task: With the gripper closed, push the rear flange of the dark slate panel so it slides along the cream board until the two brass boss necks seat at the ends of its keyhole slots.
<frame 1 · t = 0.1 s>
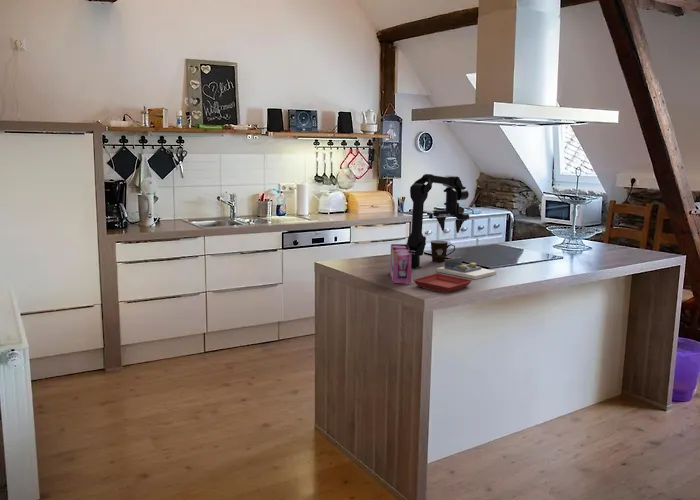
hand: (450, 231, 317), 15 cm above the counter, tool pointing down, fingers open, 9 cm apart
gum box: (400, 278, 277), on the counter
plant saucer: (442, 287, 262), on the counter
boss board: (466, 272, 290), on the counter
keyhole panel: (462, 264, 291), point 4 cm above the counter, slide at 0.0 cm
coffee mug: (441, 262, 315), on the counter
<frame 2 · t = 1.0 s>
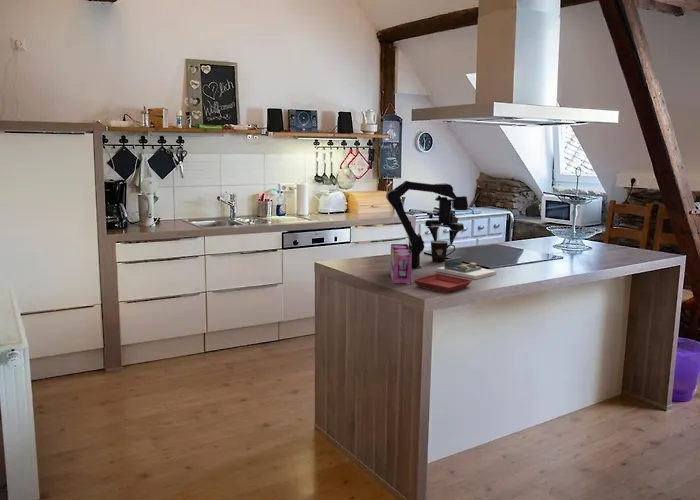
hand: (443, 242, 299), 12 cm above the counter, tool pointing down, fingers open, 9 cm apart
nothing on the counter moved.
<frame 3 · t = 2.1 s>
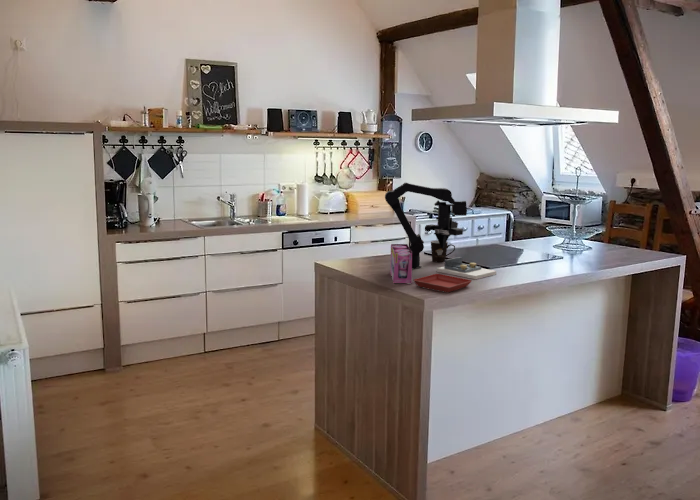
hand: (442, 247, 298), 10 cm above the counter, tool pointing down, fingers closed
nothing on the counter moved.
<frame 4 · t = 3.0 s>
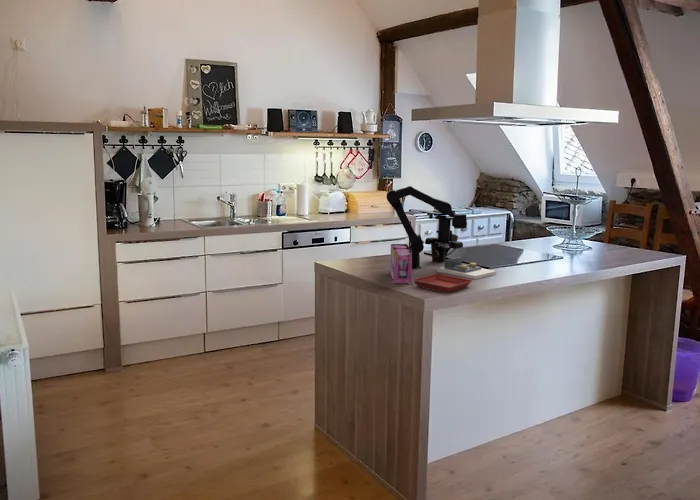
hand: (443, 260, 299), 4 cm above the counter, tool pointing down, fingers closed
nothing on the counter moved.
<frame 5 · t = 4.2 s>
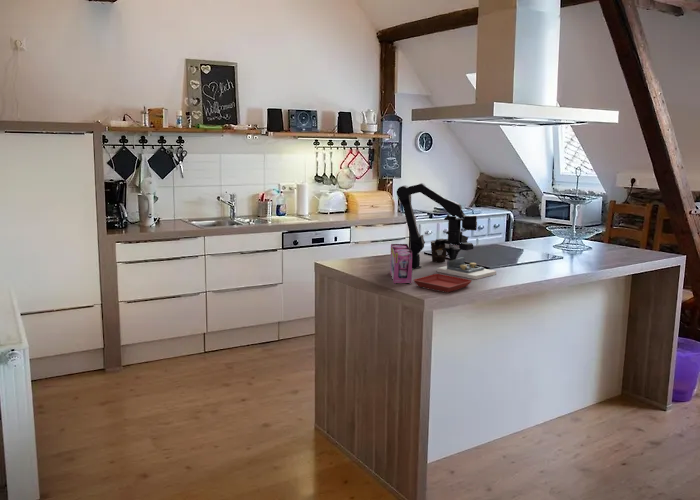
hand: (453, 262, 295), 4 cm above the counter, tool pointing down, fingers closed
keyhole panel: (465, 264, 289), point 4 cm above the counter, slide at 1.6 cm, touching gripper
everything else where it was.
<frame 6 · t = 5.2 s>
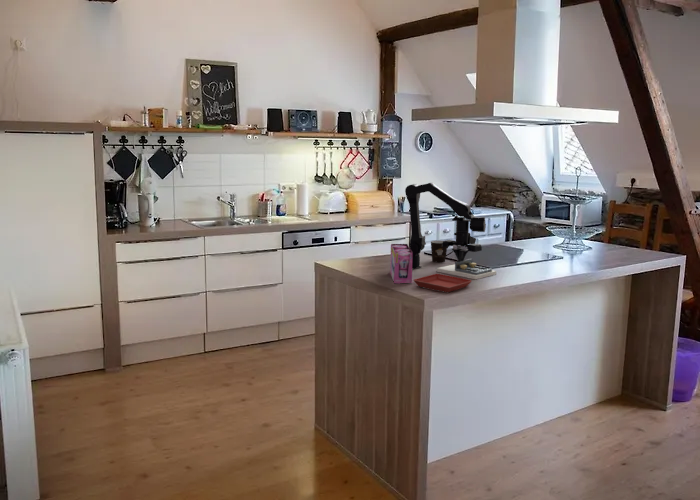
hand: (460, 263, 292), 4 cm above the counter, tool pointing down, fingers closed
keyhole panel: (473, 266, 286), point 4 cm above the counter, slide at 6.0 cm, touching gripper
everything else where it was.
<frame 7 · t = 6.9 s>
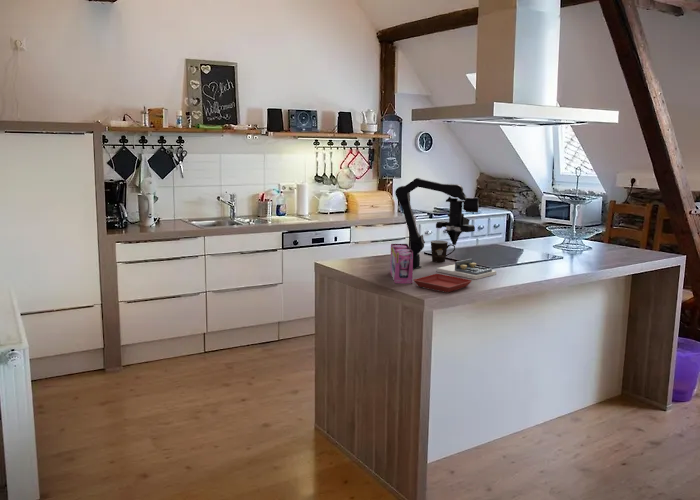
hand: (454, 244, 293), 12 cm above the counter, tool pointing down, fingers closed
keyhole panel: (473, 266, 286), point 4 cm above the counter, slide at 6.0 cm
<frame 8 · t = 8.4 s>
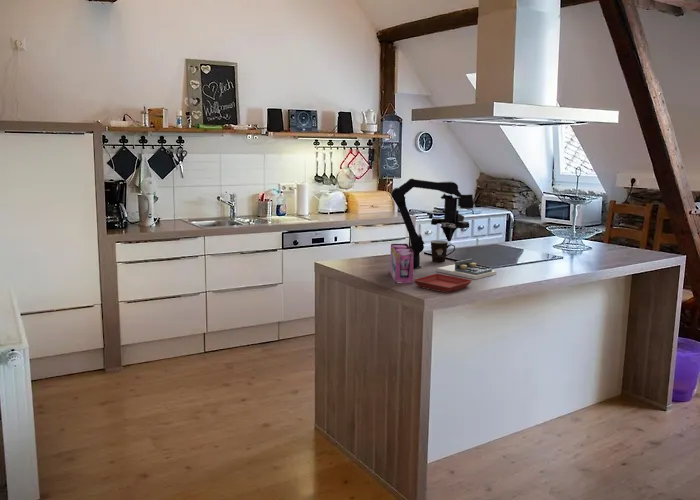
hand: (449, 241, 297), 13 cm above the counter, tool pointing down, fingers closed
at the end: keyhole panel slide at 6.0 cm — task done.
